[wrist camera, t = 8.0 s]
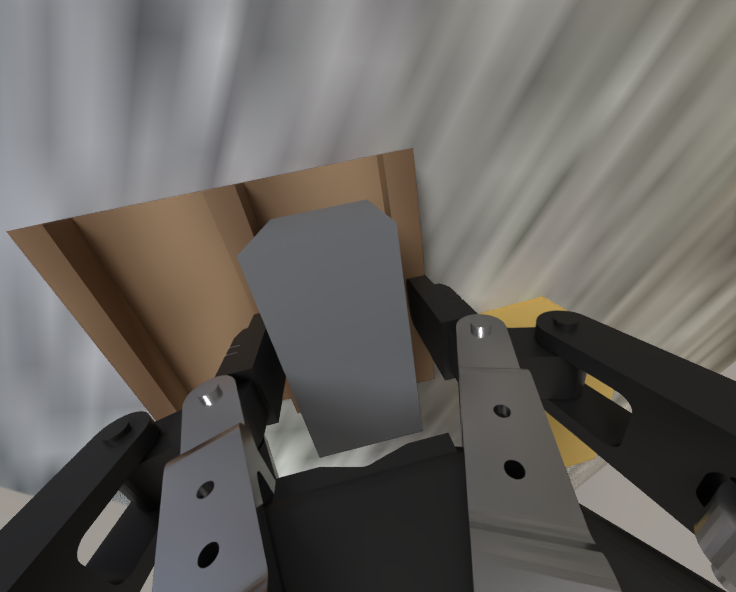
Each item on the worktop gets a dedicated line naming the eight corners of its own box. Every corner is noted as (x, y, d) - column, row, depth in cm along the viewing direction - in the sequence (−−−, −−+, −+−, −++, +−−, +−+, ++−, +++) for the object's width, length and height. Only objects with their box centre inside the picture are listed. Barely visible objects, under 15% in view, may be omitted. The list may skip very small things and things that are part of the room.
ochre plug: (480, 407, 20) (527, 479, 15) (476, 313, 16) (536, 371, 11) (533, 391, 20) (595, 458, 15) (541, 295, 16) (625, 345, 12)
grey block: (320, 368, 15) (319, 457, 10) (270, 219, 11) (236, 256, 7) (392, 351, 15) (422, 430, 10) (366, 199, 11) (396, 222, 7)
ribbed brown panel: (190, 412, 16) (173, 444, 14) (57, 220, 11) (5, 231, 9) (422, 354, 16) (435, 378, 15) (399, 150, 11) (414, 148, 10)
